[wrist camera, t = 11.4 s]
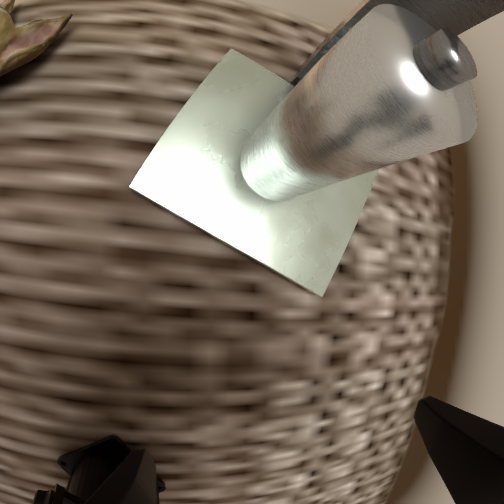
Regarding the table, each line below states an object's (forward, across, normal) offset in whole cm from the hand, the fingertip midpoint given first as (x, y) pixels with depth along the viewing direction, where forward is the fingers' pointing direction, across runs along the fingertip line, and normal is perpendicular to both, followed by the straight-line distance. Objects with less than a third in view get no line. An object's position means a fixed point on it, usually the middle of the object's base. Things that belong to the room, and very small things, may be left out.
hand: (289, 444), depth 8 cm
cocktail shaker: (+13, -3, -8) cm, 16 cm away
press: (+15, -5, -8) cm, 18 cm away
